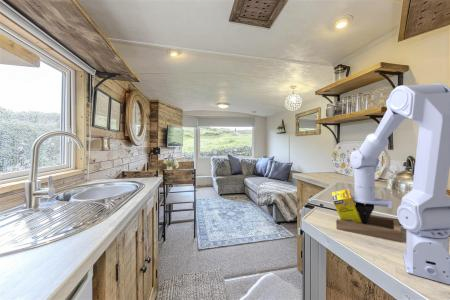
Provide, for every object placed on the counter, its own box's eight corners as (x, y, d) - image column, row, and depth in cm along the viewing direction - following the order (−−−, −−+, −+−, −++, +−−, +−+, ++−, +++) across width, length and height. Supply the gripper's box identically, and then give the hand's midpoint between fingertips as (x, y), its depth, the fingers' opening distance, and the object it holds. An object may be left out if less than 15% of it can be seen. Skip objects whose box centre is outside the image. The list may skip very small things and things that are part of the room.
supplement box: (362, 224, 68) (351, 197, 66) (343, 226, 71) (332, 201, 69) (359, 213, 73) (348, 188, 72) (341, 216, 76) (330, 192, 74)
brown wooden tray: (401, 242, 59) (401, 232, 59) (336, 229, 70) (336, 220, 69) (398, 227, 68) (398, 219, 68) (341, 217, 78) (341, 210, 78)
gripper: (391, 185, 67) (392, 224, 68) (341, 181, 76) (342, 216, 77) (392, 190, 61) (392, 233, 62) (338, 185, 70) (339, 223, 71)
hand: (365, 224), depth 69 cm, fingers closed
